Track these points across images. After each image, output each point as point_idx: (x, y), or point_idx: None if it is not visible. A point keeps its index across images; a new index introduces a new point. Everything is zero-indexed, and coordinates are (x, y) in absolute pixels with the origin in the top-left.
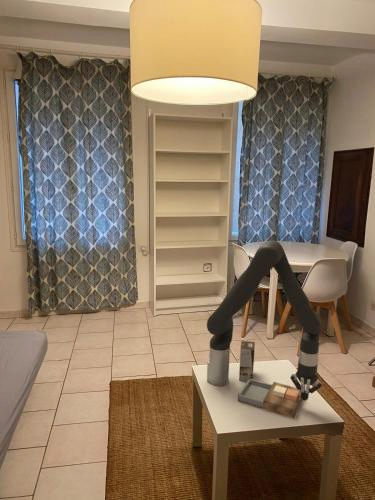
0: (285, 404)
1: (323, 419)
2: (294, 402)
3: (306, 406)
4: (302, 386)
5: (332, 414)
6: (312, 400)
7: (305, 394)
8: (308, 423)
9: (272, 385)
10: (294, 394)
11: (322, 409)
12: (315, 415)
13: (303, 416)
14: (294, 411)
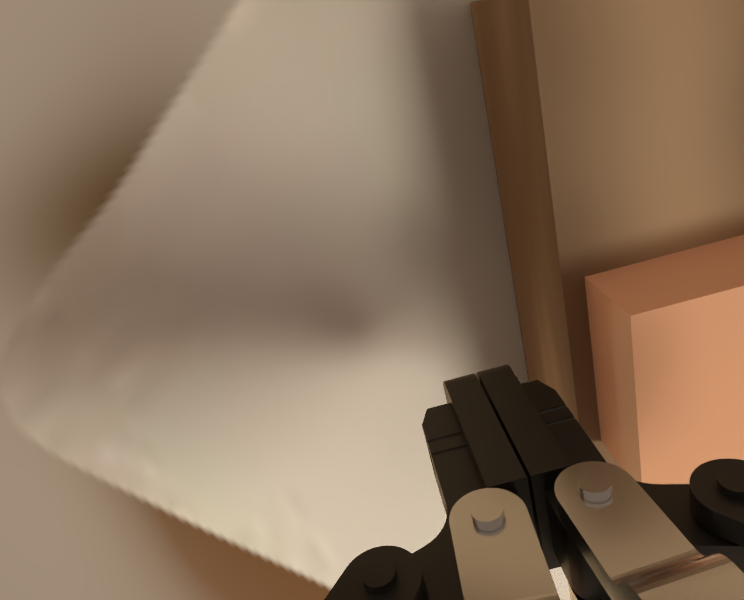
0: (734, 24)
1: (122, 305)
2: (599, 221)
3: (433, 399)
4: (686, 582)
5: (104, 476)
6: (424, 543)
7: (494, 459)
8: (225, 49)
9: None
10: (690, 361)
11: (249, 479)
12: (250, 310)
13: (368, 166)
14: (507, 44)
